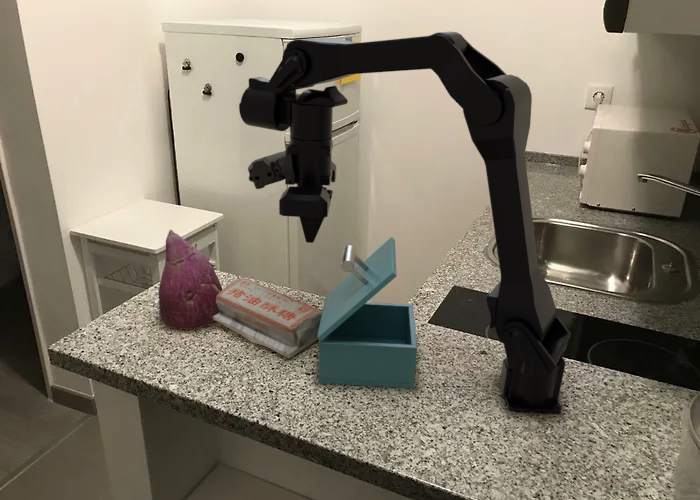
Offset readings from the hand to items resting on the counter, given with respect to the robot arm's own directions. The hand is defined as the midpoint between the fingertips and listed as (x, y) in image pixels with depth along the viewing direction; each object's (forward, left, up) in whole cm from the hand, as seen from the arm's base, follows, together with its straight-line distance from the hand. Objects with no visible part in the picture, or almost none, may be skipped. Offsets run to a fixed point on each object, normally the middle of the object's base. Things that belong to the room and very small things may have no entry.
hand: (309, 241), depth 86 cm
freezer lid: (-8, +10, -2) cm, 13 cm away
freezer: (-9, +10, -13) cm, 19 cm away
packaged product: (+6, +3, -13) cm, 15 cm away
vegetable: (+18, 0, -13) cm, 23 cm away
